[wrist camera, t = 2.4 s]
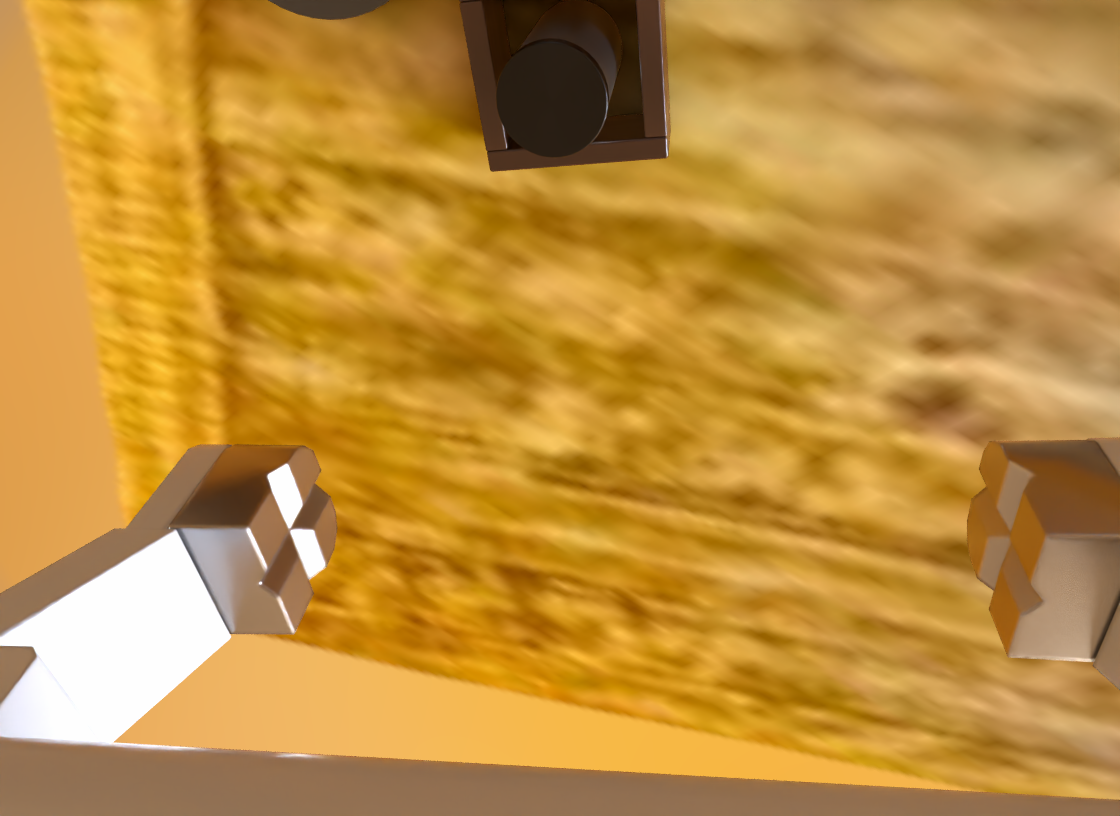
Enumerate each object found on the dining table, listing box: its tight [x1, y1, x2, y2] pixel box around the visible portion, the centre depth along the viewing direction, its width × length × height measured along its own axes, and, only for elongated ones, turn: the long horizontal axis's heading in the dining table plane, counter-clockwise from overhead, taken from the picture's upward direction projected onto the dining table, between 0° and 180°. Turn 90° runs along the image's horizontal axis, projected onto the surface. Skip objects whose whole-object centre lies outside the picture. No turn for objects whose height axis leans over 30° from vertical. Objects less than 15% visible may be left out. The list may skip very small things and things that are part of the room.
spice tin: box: [496, 0, 622, 158], centre depth 28 cm, size 4×4×6 cm
